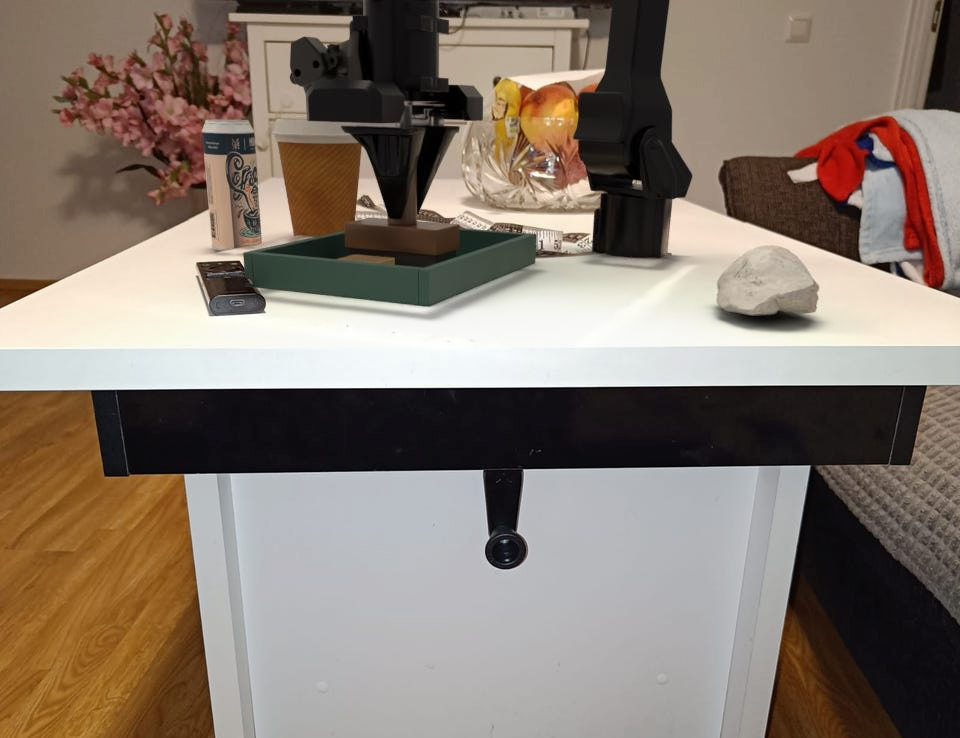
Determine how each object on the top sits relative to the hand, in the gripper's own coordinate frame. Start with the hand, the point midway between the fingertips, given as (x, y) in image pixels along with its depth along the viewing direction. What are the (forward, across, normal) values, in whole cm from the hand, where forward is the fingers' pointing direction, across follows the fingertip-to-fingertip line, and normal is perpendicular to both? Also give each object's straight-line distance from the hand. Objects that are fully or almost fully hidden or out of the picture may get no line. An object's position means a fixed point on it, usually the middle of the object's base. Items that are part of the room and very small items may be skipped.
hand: (403, 217), depth 76 cm
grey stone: (+5, -1, +29) cm, 30 cm away
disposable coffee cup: (+6, -18, -19) cm, 26 cm away
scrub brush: (+4, 0, 0) cm, 4 cm away
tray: (+5, 0, 0) cm, 5 cm away
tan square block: (+4, +7, 0) cm, 8 cm away
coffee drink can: (+6, -6, -22) cm, 24 cm away
